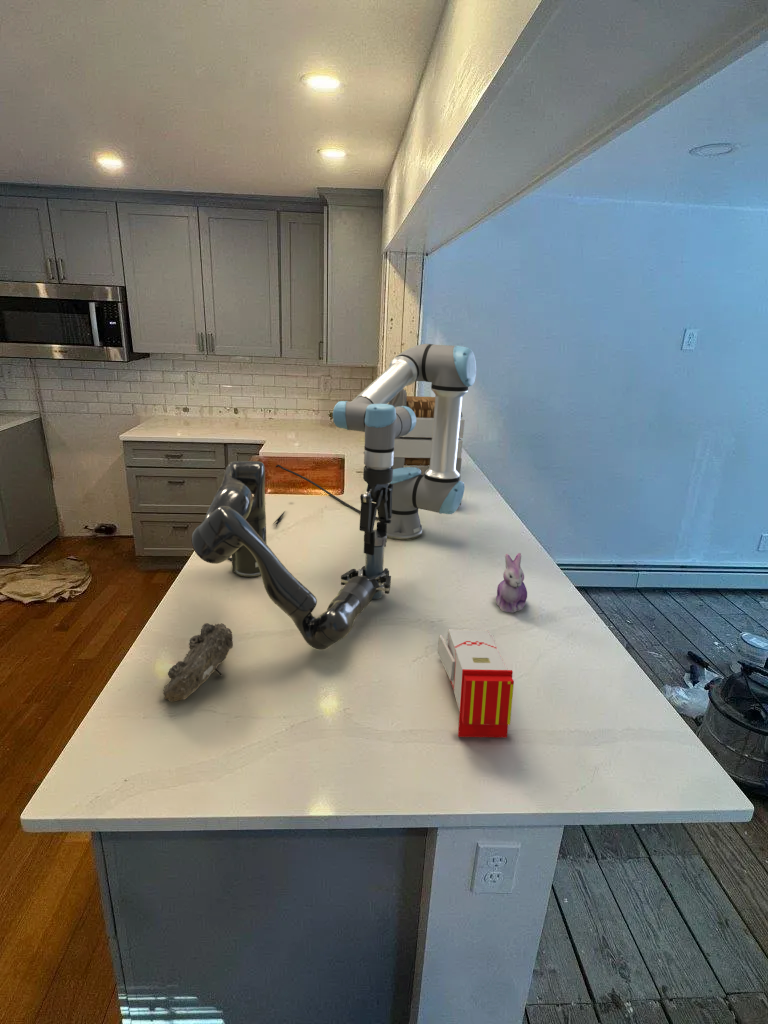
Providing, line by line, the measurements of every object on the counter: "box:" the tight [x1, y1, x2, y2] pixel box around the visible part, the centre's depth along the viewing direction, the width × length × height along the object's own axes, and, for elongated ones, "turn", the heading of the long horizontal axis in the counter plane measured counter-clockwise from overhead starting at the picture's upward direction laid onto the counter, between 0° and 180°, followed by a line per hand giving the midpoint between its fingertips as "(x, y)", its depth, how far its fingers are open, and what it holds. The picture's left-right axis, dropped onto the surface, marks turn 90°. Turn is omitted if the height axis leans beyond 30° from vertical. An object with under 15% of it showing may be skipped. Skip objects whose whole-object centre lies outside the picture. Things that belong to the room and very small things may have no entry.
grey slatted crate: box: [388, 388, 465, 481], centre depth 268 cm, size 34×33×41 cm
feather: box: [272, 510, 286, 528], centre depth 212 cm, size 2×28×2 cm
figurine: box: [495, 552, 528, 614], centre depth 152 cm, size 9×10×15 cm
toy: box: [437, 628, 515, 738], centre depth 117 cm, size 12×13×30 cm
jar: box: [364, 545, 385, 600], centre depth 154 cm, size 5×5×18 cm
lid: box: [373, 529, 388, 546], centre depth 151 cm, size 6×6×2 cm
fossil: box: [162, 622, 234, 703], centre depth 119 cm, size 22×10×15 cm
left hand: (377, 569), depth 157 cm, fingers closed on jar, 5 cm apart
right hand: (374, 549), depth 152 cm, fingers closed on lid, 6 cm apart
